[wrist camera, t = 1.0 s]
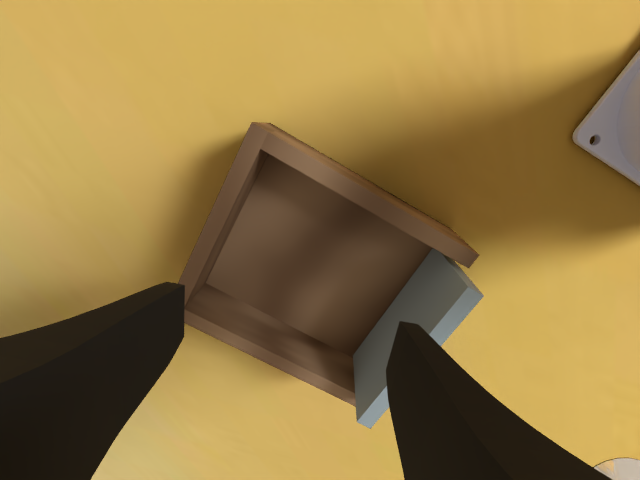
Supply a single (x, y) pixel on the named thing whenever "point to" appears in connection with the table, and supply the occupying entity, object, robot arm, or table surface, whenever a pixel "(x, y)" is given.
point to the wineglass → (620, 469)
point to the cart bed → (304, 259)
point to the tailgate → (414, 307)
